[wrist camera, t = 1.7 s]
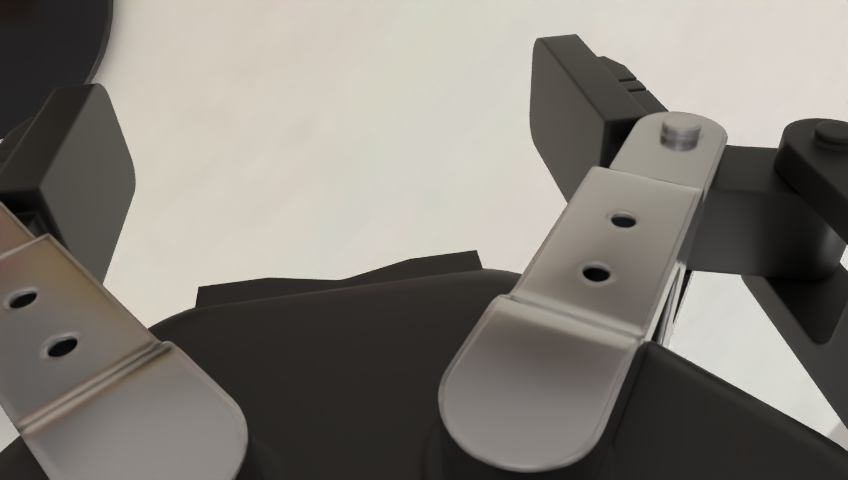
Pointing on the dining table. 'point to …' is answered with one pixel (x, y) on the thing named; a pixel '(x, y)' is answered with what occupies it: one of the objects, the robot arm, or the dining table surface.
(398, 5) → the dining table surface
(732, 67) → the dining table surface
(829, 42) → the dining table surface
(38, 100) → the lid
